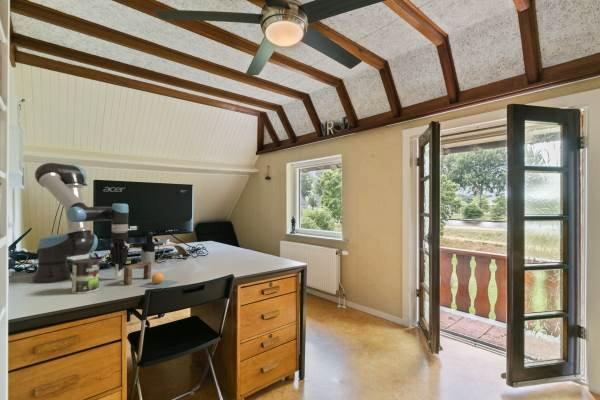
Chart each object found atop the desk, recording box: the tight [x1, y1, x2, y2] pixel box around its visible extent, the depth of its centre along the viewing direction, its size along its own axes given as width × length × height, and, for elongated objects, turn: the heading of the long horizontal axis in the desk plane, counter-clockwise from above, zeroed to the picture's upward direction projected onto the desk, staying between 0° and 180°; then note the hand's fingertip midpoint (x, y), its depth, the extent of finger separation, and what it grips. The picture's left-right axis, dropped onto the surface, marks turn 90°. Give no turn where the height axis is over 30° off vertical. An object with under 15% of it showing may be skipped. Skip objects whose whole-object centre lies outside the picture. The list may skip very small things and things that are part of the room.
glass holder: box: [139, 242, 166, 270], centre depth 184 cm, size 9×14×15 cm, turn 115°
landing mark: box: [139, 279, 179, 289], centre depth 146 cm, size 13×13×1 cm
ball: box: [151, 272, 165, 284], centre depth 146 cm, size 6×6×6 cm
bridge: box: [123, 261, 152, 286], centre depth 149 cm, size 3×14×9 cm, turn 164°
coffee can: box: [71, 258, 100, 295], centre depth 133 cm, size 10×10×14 cm
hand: (118, 275), depth 153 cm, fingers closed
